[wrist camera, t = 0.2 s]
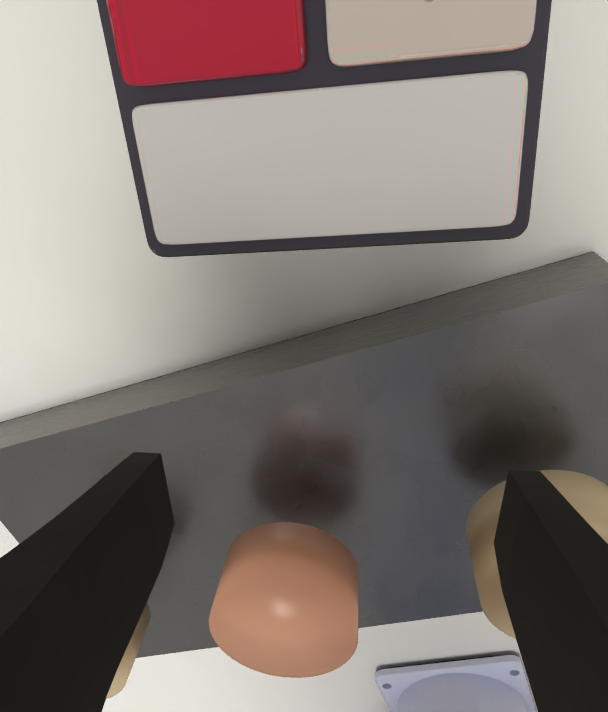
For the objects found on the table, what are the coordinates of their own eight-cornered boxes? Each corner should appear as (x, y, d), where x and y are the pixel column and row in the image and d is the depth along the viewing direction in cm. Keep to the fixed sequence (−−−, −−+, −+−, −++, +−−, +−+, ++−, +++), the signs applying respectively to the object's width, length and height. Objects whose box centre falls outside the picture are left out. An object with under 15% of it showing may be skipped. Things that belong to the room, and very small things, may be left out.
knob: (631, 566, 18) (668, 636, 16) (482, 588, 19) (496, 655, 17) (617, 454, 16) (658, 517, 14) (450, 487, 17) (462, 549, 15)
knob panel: (629, 539, 24) (656, 587, 21) (135, 617, 30) (117, 660, 28) (593, 251, 18) (625, 277, 15) (-12, 426, 24) (-49, 461, 22)
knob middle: (375, 604, 20) (376, 669, 18) (256, 621, 21) (244, 684, 19) (333, 510, 18) (329, 571, 16) (204, 535, 19) (183, 595, 17)
